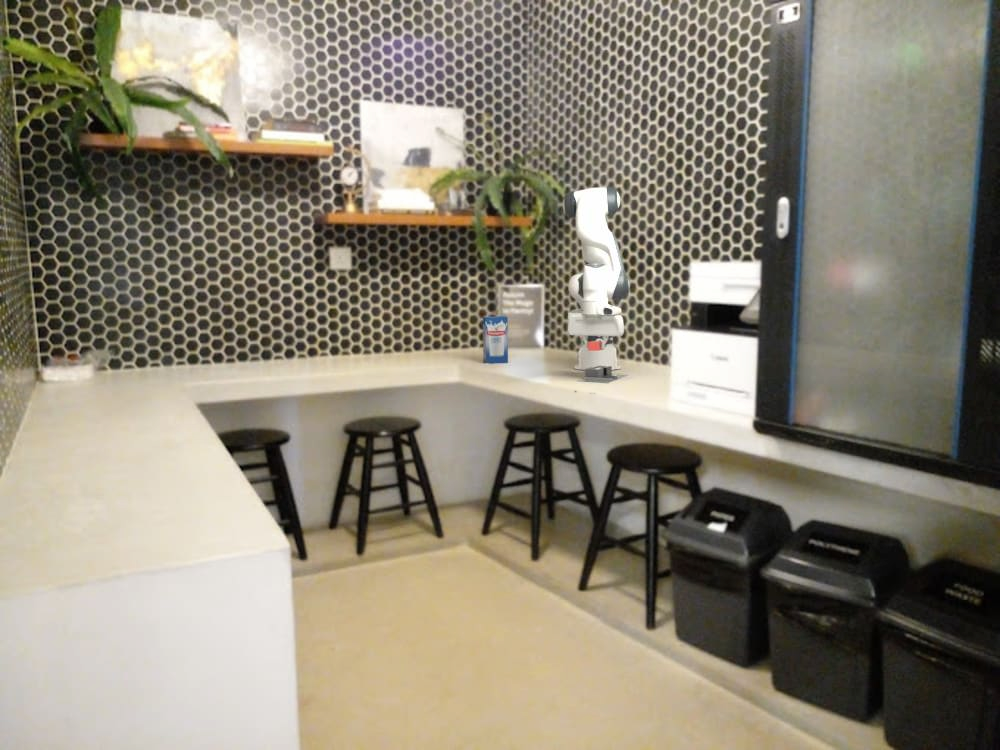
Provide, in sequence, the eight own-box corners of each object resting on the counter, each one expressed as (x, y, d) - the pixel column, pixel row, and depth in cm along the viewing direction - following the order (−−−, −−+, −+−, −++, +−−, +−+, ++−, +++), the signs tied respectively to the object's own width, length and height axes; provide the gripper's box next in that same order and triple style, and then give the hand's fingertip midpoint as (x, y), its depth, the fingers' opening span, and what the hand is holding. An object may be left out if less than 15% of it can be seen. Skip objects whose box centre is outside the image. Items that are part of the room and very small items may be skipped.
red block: (592, 349, 269) (592, 341, 269) (602, 349, 267) (602, 341, 267) (587, 350, 265) (587, 342, 265) (598, 350, 264) (598, 342, 263)
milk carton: (485, 363, 326) (485, 317, 323) (483, 361, 332) (482, 316, 329) (508, 362, 328) (507, 317, 325) (505, 361, 334) (504, 316, 331)
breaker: (590, 376, 271) (590, 366, 271) (603, 377, 269) (603, 367, 269) (585, 378, 267) (585, 368, 267) (598, 379, 265) (598, 369, 264)
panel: (598, 377, 282) (598, 363, 282) (628, 379, 277) (628, 365, 276) (575, 385, 263) (575, 370, 263) (607, 387, 258) (607, 372, 257)
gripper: (564, 309, 267) (564, 348, 268) (619, 310, 257) (619, 350, 259) (571, 308, 272) (571, 346, 274) (625, 309, 262) (625, 348, 264)
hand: (595, 348), depth 266 cm, fingers closed on red block, 4 cm apart
